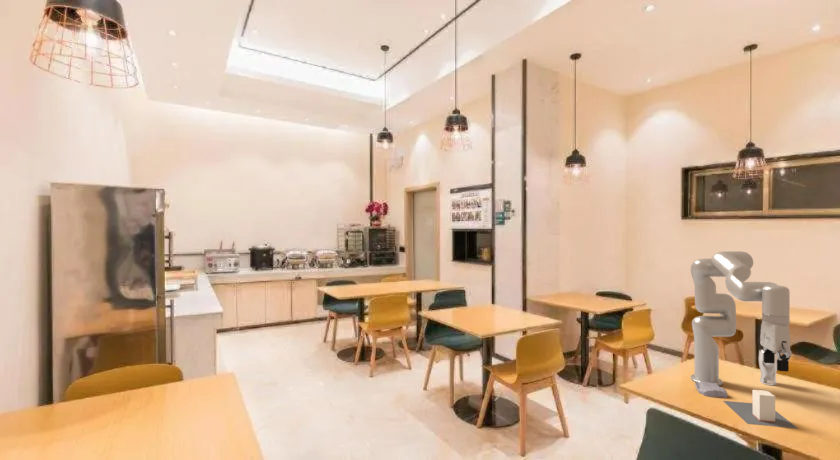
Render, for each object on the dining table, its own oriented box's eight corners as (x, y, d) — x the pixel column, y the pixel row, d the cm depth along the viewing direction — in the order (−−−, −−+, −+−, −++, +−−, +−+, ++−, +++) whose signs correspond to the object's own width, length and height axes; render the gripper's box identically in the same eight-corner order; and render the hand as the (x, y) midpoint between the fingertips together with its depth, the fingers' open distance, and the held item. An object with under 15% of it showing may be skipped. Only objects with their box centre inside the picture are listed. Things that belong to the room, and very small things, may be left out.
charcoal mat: (722, 402, 170) (722, 400, 170) (767, 406, 166) (767, 404, 166) (747, 425, 151) (747, 423, 151) (798, 430, 147) (798, 428, 147)
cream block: (752, 414, 158) (752, 389, 158) (767, 416, 156) (767, 390, 156) (759, 420, 153) (759, 395, 153) (775, 422, 152) (775, 396, 151)
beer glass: (776, 381, 191) (776, 350, 190) (779, 387, 185) (779, 355, 184) (757, 379, 194) (757, 348, 194) (760, 384, 188) (760, 352, 188)
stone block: (705, 403, 174) (730, 400, 172) (702, 392, 175) (727, 388, 173) (692, 392, 186) (716, 389, 184) (690, 382, 186) (713, 379, 184)
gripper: (750, 313, 156) (750, 358, 156) (777, 324, 139) (777, 374, 139) (773, 314, 154) (773, 359, 154) (803, 325, 137) (803, 376, 137)
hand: (775, 366), depth 147 cm, fingers open, 7 cm apart
